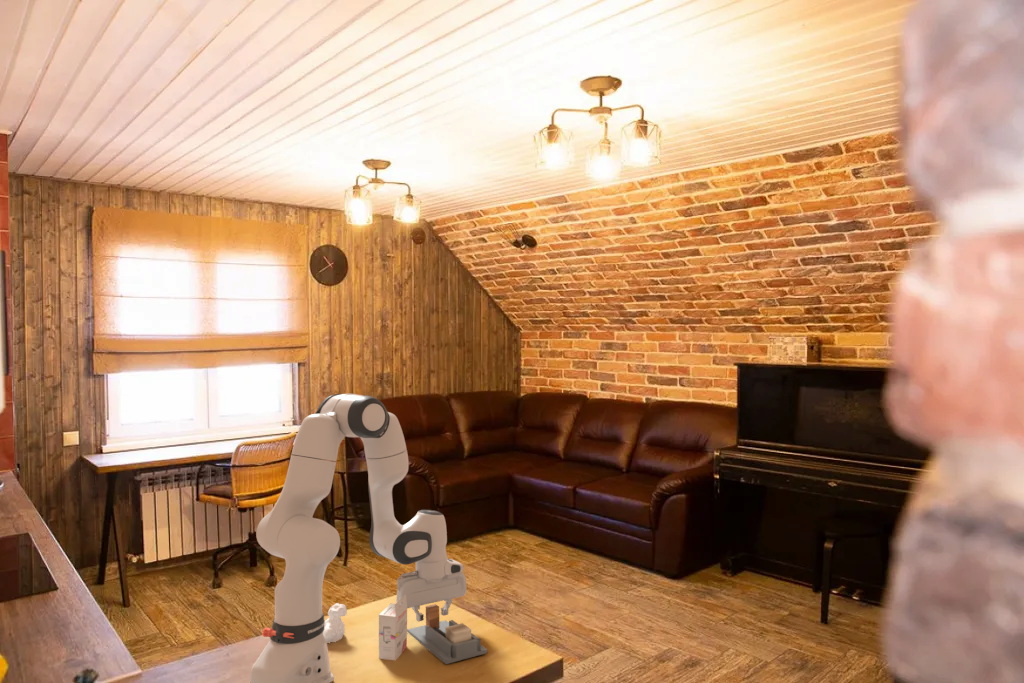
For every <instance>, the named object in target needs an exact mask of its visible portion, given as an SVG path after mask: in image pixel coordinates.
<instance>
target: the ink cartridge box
mask: <svg viewBox="0 0 1024 683" xmlns="http://www.w3.org/2000/svg"><path fill="white" fill-rule="evenodd" d="M401 602H403V604H401ZM407 629H408V608H407V597H406V594H405V595H404V596H403V597H402V598H401V599H400V600H399V601H398V602H397V601H396V603H393V602H392V603H389V605H388V606H386V608H384V609H383V610H382V611H381V612H380V613H379V614H378V659H382V660H390V661H397V660H398V659H399V657H400V656H401V655H402V654H403V652H404V651H405V649H406V648H407V646H408V645H407V644H408V643H407V642H408V640H407V639H408V636H407V635H408V632H407Z"/></svg>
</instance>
